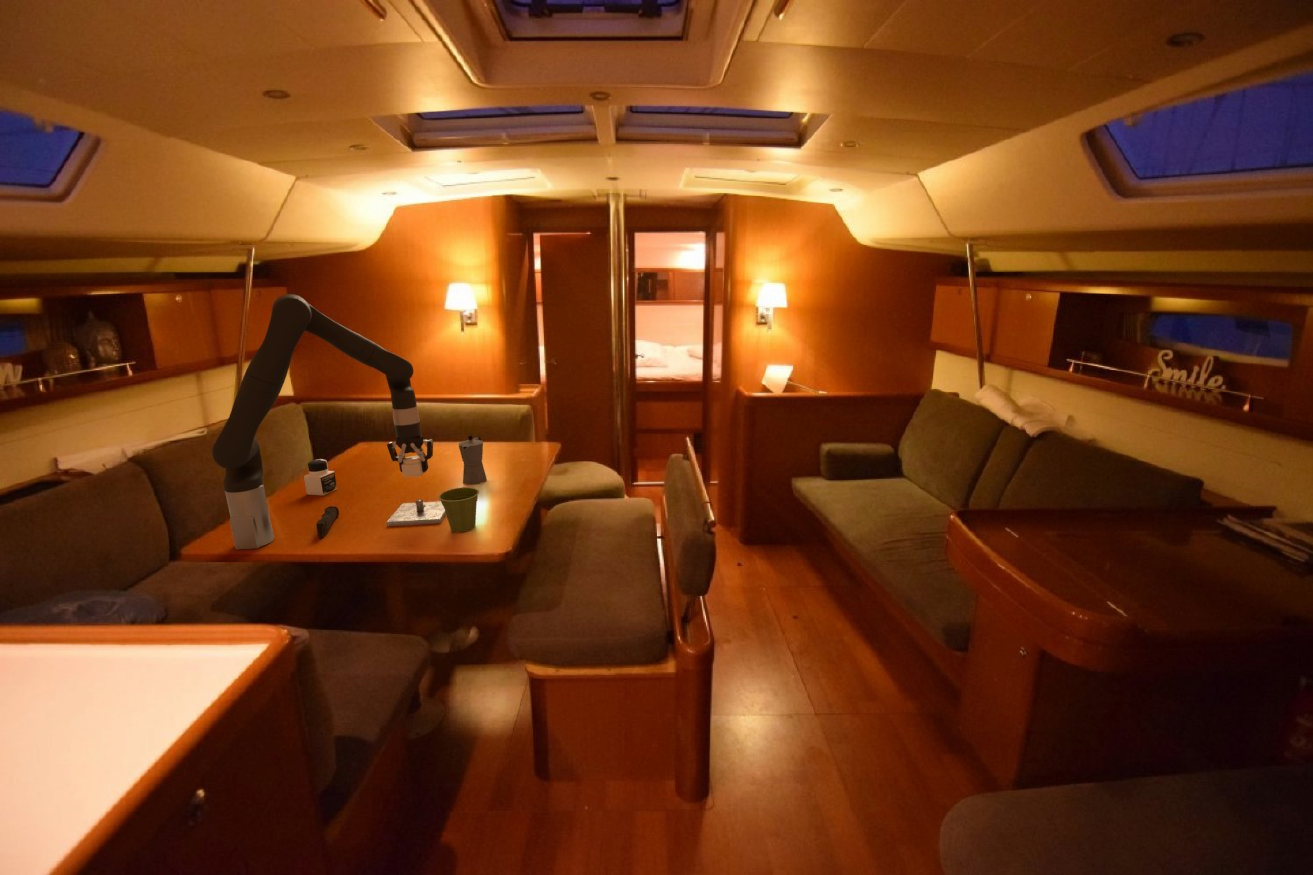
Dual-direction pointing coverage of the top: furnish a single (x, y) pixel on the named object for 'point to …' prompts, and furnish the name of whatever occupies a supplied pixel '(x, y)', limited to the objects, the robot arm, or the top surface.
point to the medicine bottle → (319, 478)
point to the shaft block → (418, 514)
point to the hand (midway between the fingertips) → (414, 472)
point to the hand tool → (326, 520)
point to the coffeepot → (472, 461)
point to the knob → (412, 466)
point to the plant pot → (460, 507)
